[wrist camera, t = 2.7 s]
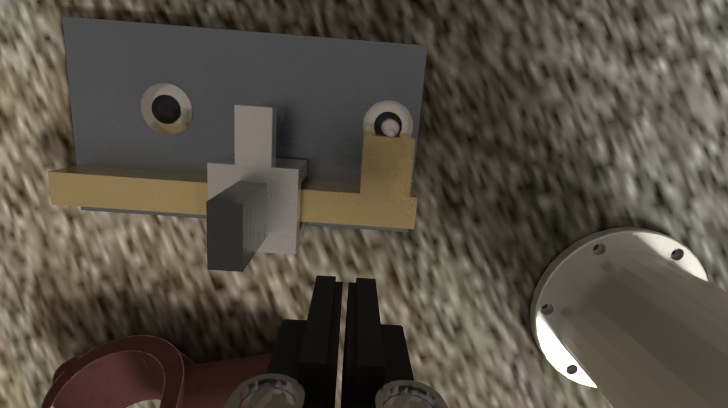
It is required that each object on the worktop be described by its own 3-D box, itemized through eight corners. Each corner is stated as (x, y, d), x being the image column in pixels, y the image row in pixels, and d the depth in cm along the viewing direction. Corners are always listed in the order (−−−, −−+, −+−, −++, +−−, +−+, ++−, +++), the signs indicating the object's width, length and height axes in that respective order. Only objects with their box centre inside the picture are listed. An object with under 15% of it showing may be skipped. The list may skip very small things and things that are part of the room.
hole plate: (425, 47, 26) (427, 45, 25) (406, 227, 29) (408, 232, 27) (73, 19, 25) (60, 15, 24) (90, 206, 28) (79, 210, 27)
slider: (309, 109, 25) (283, 111, 17) (304, 233, 27) (279, 291, 19) (228, 102, 25) (162, 102, 17) (229, 228, 27) (171, 284, 19)
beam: (419, 120, 26) (425, 122, 23) (409, 218, 27) (414, 229, 25) (69, 94, 25) (38, 93, 23) (79, 195, 27) (51, 204, 24)
